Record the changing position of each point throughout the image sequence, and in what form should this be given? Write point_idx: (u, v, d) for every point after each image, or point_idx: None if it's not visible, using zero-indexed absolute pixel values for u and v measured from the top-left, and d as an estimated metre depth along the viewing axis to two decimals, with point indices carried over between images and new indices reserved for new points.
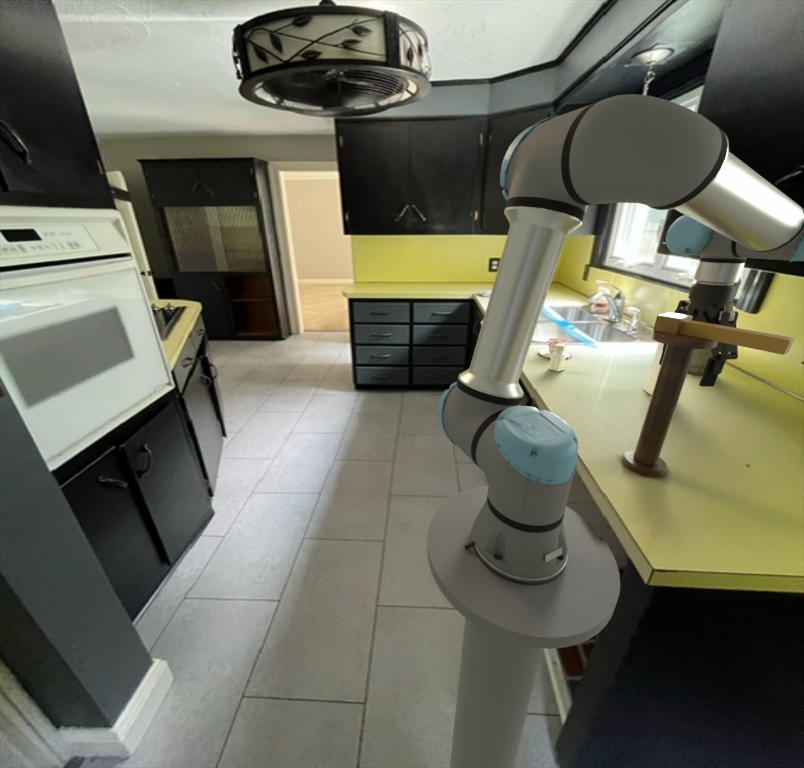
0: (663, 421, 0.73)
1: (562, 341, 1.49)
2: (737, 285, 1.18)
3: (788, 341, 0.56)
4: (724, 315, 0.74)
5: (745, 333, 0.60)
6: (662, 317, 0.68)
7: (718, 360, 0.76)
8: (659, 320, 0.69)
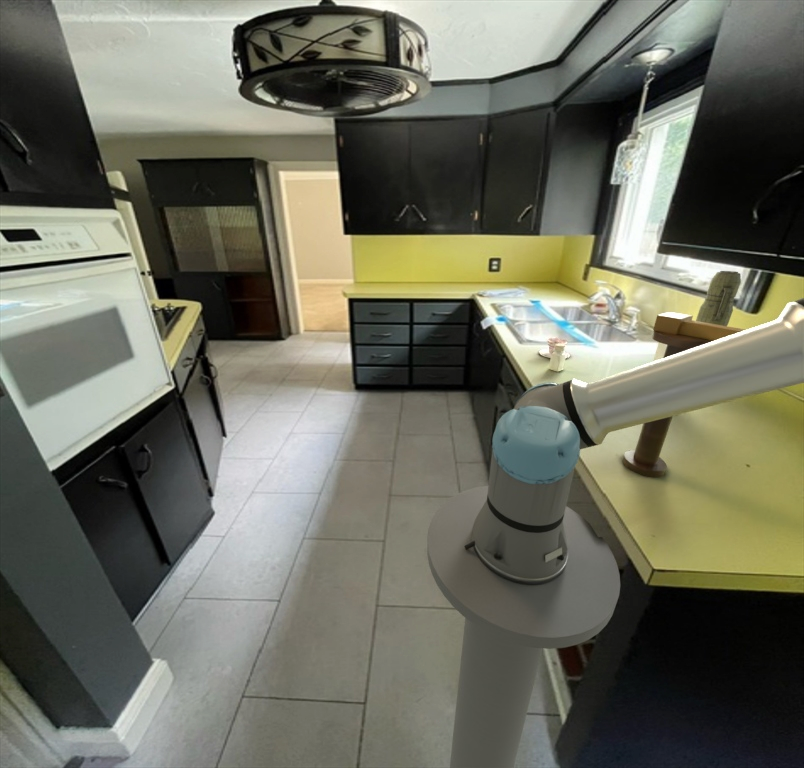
0: (663, 421, 0.73)
1: (562, 341, 1.49)
2: (737, 285, 1.18)
3: None
4: None
5: None
6: (662, 317, 0.68)
7: None
8: (659, 320, 0.69)
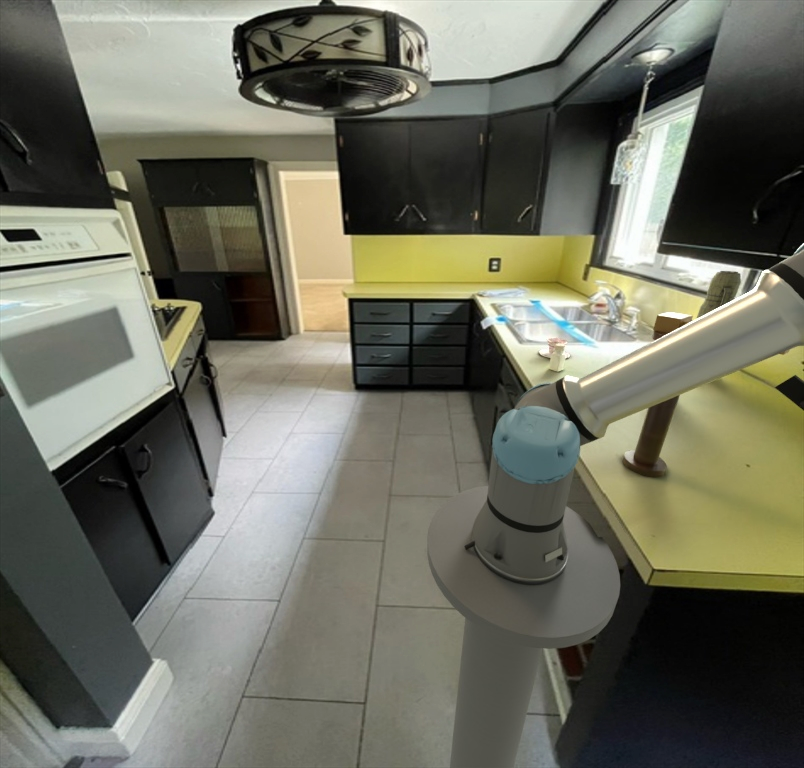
0: (663, 421, 0.73)
1: (562, 341, 1.49)
2: (737, 285, 1.18)
3: None
4: None
5: None
6: (662, 317, 0.68)
7: None
8: (659, 320, 0.69)
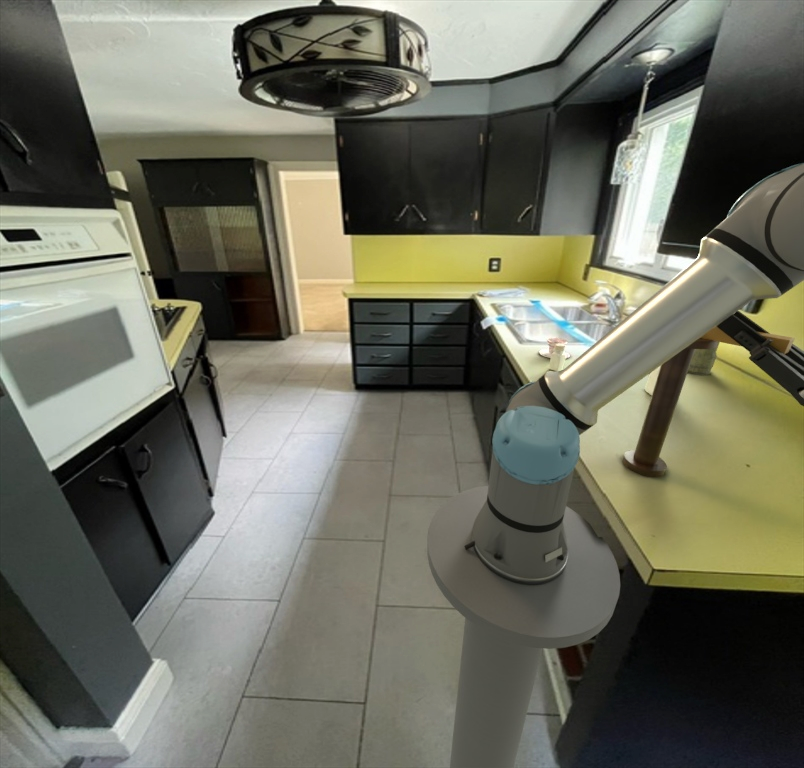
0: (663, 421, 0.73)
1: (562, 341, 1.49)
2: None
3: (788, 341, 0.56)
4: None
5: None
6: None
7: (759, 344, 0.57)
8: None
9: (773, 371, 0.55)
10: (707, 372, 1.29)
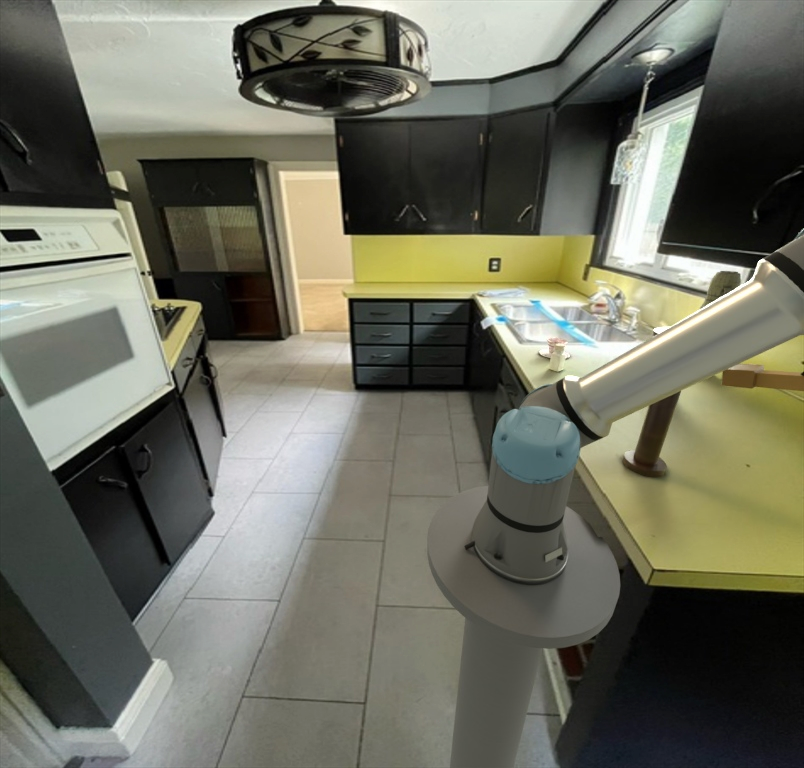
0: (663, 421, 0.73)
1: (562, 341, 1.49)
2: (737, 285, 1.18)
3: None
4: None
5: None
6: (730, 371, 0.61)
7: None
8: (727, 374, 0.62)
9: None
10: None
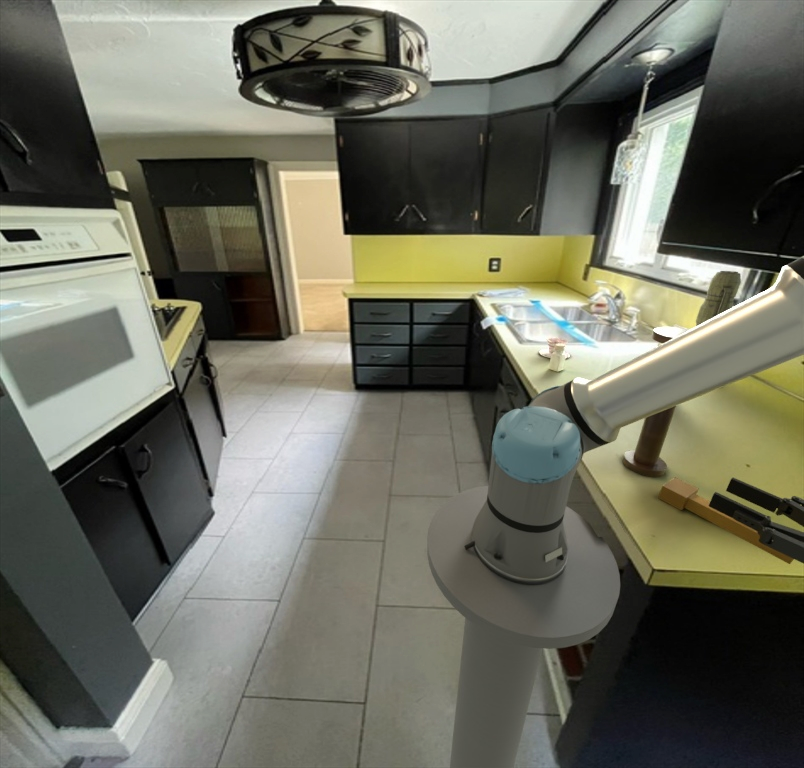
0: (663, 421, 0.73)
1: (562, 341, 1.49)
2: (737, 285, 1.18)
3: None
4: None
5: (751, 531, 0.60)
6: (667, 489, 0.68)
7: (760, 523, 0.55)
8: (664, 491, 0.69)
9: (794, 554, 0.51)
10: None
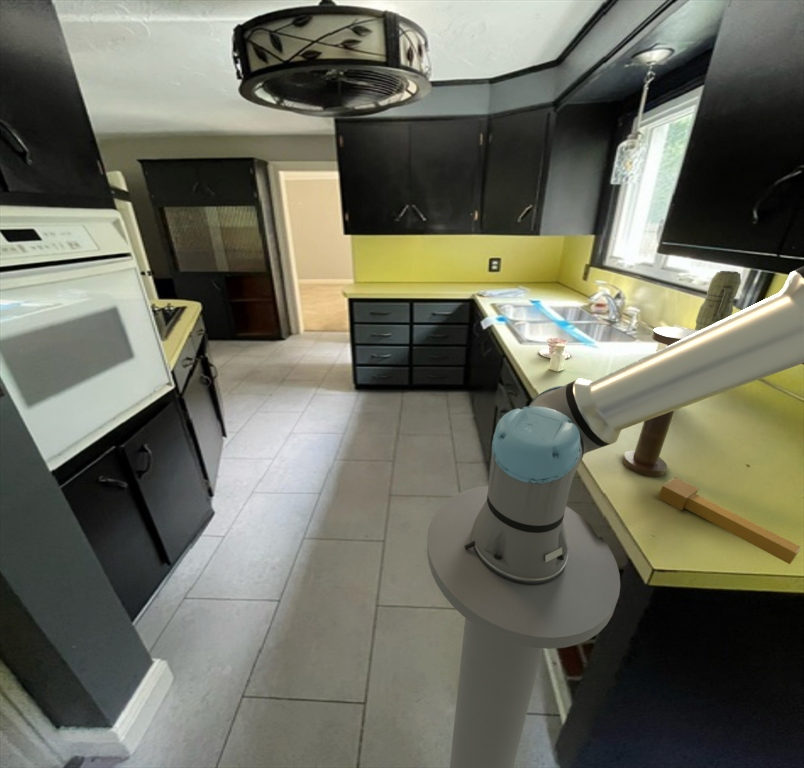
0: (663, 421, 0.73)
1: (562, 341, 1.49)
2: (737, 285, 1.18)
3: (794, 553, 0.56)
4: None
5: (751, 531, 0.60)
6: (667, 489, 0.68)
7: None
8: (664, 491, 0.69)
9: None
10: None
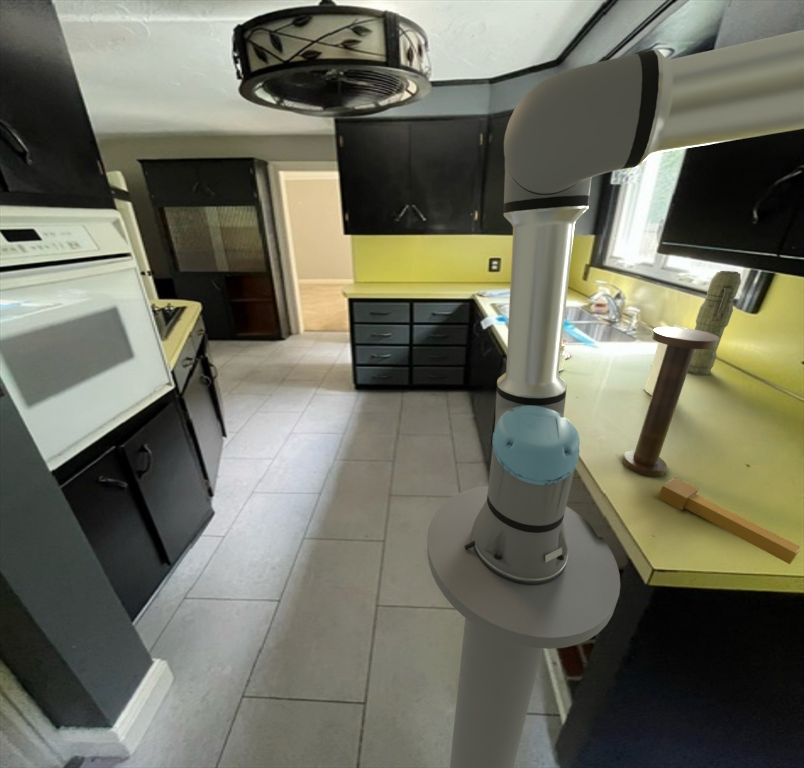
0: (663, 421, 0.73)
1: (562, 341, 1.49)
2: (737, 285, 1.18)
3: (794, 553, 0.56)
4: None
5: (751, 531, 0.60)
6: (667, 489, 0.68)
7: None
8: (664, 491, 0.69)
9: None
10: (707, 372, 1.29)
